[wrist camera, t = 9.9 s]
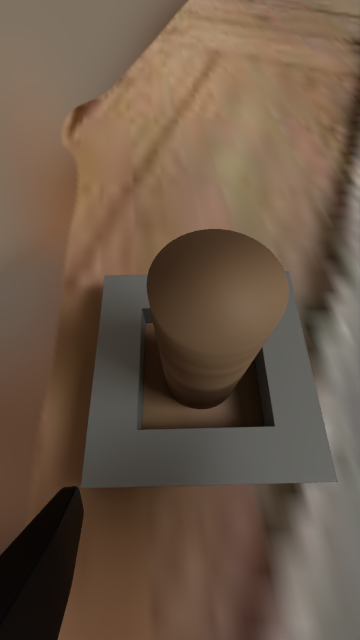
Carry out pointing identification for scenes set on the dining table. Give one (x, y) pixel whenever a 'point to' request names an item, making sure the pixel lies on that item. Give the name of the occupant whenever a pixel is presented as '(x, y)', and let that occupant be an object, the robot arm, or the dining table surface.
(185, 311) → the tall walnut peg
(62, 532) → the robot arm
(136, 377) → the socket block
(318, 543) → the dining table surface
